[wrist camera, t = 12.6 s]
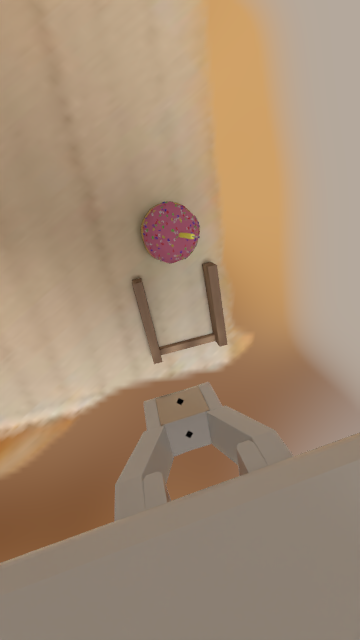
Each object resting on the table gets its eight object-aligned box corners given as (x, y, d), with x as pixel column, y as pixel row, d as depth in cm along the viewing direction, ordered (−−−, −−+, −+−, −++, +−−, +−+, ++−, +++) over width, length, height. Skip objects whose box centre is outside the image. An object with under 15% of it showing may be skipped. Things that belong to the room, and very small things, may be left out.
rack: (152, 354, 48) (154, 364, 44) (132, 280, 42) (132, 284, 39) (221, 336, 49) (227, 344, 46) (210, 262, 43) (216, 264, 40)
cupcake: (194, 207, 40) (217, 199, 29) (190, 260, 43) (210, 272, 32) (140, 202, 38) (143, 192, 27) (140, 258, 41) (142, 269, 30)
